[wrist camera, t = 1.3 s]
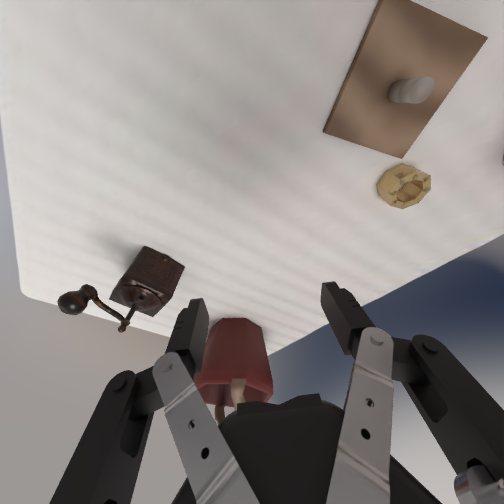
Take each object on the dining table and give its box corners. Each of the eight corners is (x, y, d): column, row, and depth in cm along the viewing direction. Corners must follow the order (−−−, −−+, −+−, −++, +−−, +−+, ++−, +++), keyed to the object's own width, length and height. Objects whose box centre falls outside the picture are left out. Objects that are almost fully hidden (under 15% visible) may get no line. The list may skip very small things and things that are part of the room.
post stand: (382, -6, 21) (419, -37, 16) (478, 39, 22) (538, 25, 18) (322, 131, 29) (335, 139, 24) (397, 156, 30) (423, 168, 26)
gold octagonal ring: (392, 160, 31) (407, 168, 28) (422, 170, 32) (440, 178, 29) (370, 193, 34) (381, 203, 31) (397, 201, 35) (410, 211, 32)
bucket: (228, 301, 56) (212, 411, 36) (286, 326, 63) (299, 427, 44) (194, 335, 69) (169, 429, 49) (245, 352, 76) (241, 439, 57)
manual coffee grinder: (187, 265, 47) (158, 337, 33) (168, 287, 52) (135, 357, 38) (122, 229, 41) (52, 300, 27) (108, 259, 46) (43, 329, 32)
